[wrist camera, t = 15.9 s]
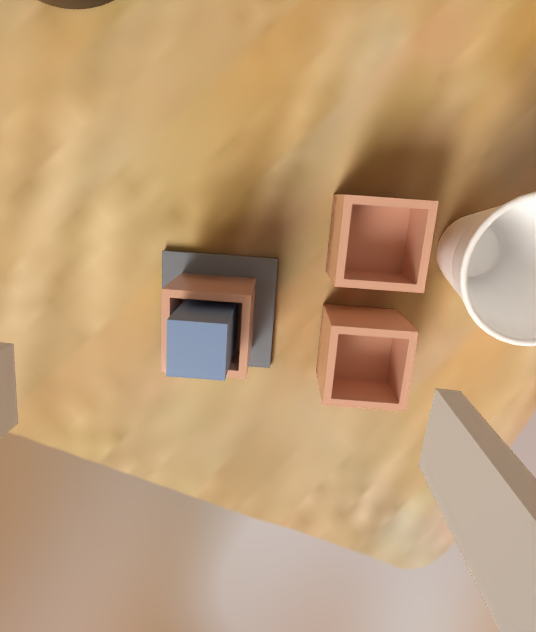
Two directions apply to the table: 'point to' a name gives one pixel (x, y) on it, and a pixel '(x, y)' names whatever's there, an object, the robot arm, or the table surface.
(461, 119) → the table surface
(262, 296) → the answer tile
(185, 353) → the blue rectangular block
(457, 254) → the cup
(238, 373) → the pot
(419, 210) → the pot
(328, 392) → the pot
